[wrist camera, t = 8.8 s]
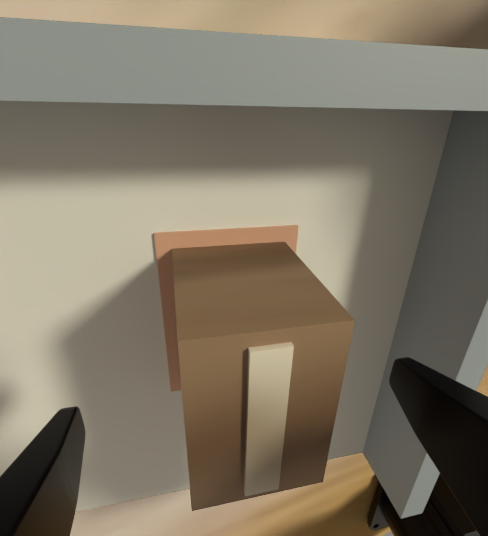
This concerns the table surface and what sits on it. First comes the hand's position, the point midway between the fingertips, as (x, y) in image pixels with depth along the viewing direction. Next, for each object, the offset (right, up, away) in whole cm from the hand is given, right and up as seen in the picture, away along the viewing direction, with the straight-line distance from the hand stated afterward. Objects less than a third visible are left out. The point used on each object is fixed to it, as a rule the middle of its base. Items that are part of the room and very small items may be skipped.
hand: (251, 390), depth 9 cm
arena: (-3, +1, +5) cm, 6 cm away
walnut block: (-1, +2, +4) cm, 4 cm away
